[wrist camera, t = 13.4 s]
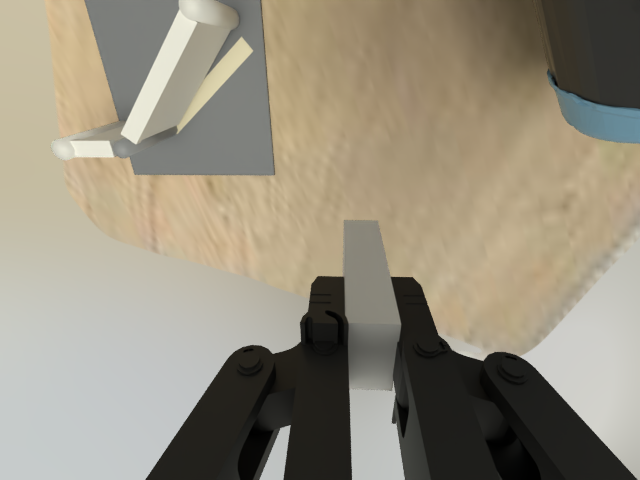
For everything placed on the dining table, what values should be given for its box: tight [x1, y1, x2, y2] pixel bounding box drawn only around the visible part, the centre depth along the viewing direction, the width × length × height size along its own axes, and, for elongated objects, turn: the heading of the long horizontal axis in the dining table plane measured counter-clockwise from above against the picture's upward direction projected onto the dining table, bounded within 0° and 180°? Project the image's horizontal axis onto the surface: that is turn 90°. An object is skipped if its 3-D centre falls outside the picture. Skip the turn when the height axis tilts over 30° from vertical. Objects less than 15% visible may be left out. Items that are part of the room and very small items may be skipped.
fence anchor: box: [51, 120, 178, 160], centre depth 37 cm, size 8×2×11 cm, turn 91°
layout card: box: [85, 0, 275, 175], centre depth 39 cm, size 19×24×1 cm
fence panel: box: [121, 0, 239, 144], centre depth 33 cm, size 14×2×11 cm, turn 142°
